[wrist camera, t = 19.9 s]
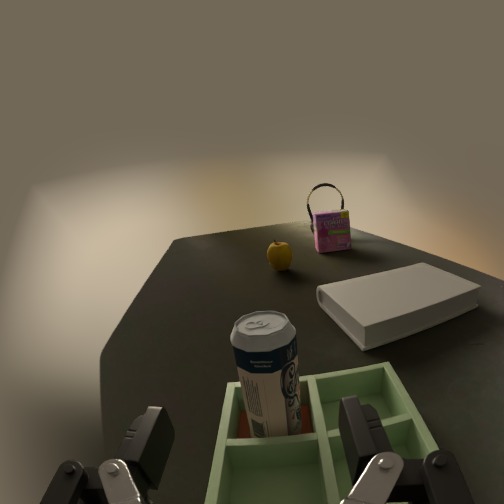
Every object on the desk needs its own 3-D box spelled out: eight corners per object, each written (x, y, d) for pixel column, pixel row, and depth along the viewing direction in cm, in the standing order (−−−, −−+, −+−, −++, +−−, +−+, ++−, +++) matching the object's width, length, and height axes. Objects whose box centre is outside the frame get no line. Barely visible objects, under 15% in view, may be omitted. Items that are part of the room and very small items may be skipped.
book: (481, 285, 38) (363, 326, 35) (478, 307, 38) (362, 351, 36) (419, 261, 55) (315, 283, 52) (418, 278, 56) (316, 303, 53)
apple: (270, 267, 80) (267, 238, 78) (294, 265, 79) (291, 236, 77) (267, 275, 74) (263, 243, 72) (292, 273, 73) (289, 241, 71)
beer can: (308, 443, 22) (303, 330, 19) (254, 455, 21) (230, 344, 18) (294, 410, 26) (285, 303, 24) (247, 420, 26) (226, 314, 23)
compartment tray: (214, 545, 13) (200, 527, 12) (234, 410, 28) (227, 382, 28) (439, 509, 11) (457, 484, 10) (384, 390, 27) (388, 361, 26)
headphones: (305, 240, 108) (299, 185, 103) (340, 234, 111) (336, 181, 106) (315, 244, 100) (309, 185, 95) (352, 237, 102) (347, 181, 98)
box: (318, 253, 87) (315, 214, 85) (315, 249, 93) (312, 212, 90) (351, 249, 87) (349, 210, 84) (346, 245, 92) (344, 208, 90)
